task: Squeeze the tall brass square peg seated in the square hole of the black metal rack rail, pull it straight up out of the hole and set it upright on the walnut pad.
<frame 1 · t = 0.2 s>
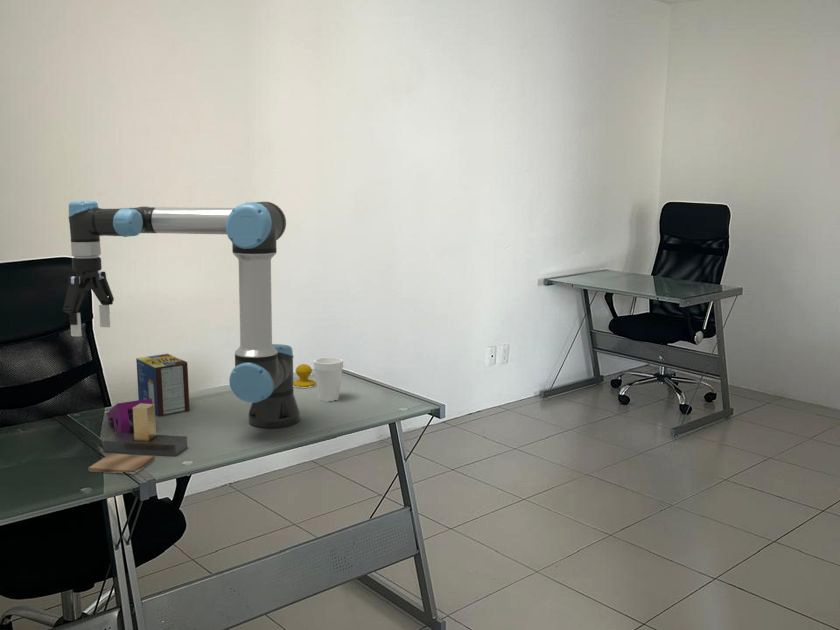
hand: (91, 331, 219), 28 cm above the table, tool pointing down, fingers open, 13 cm apart
foam cup: (328, 399, 253), on the table
protein box: (163, 408, 241), on the table
square peg: (144, 427, 203), in the rack rail
walnut pad: (122, 465, 193), on the table
doorknob: (304, 386, 269), on the table
mounting bracket: (129, 428, 223), on the table
rack rail: (146, 449, 204), on the table
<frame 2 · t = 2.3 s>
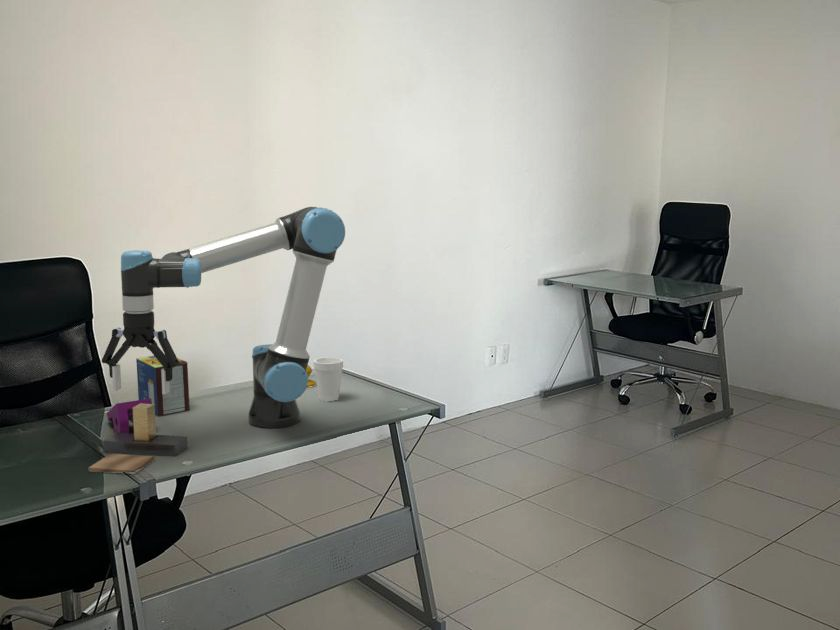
hand: (141, 391, 201), 16 cm above the table, tool pointing down, fingers open, 13 cm apart
nothing on the table moved.
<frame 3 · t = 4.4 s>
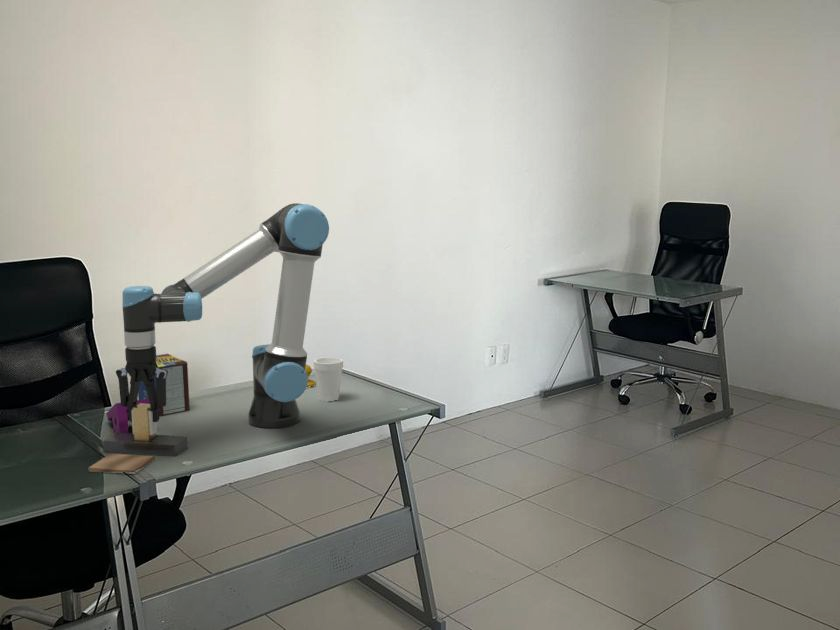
hand: (145, 432, 203), 5 cm above the table, tool pointing down, fingers closed on square peg, 4 cm apart
square peg: (144, 427, 203), in the rack rail, touching gripper
everything else where it was.
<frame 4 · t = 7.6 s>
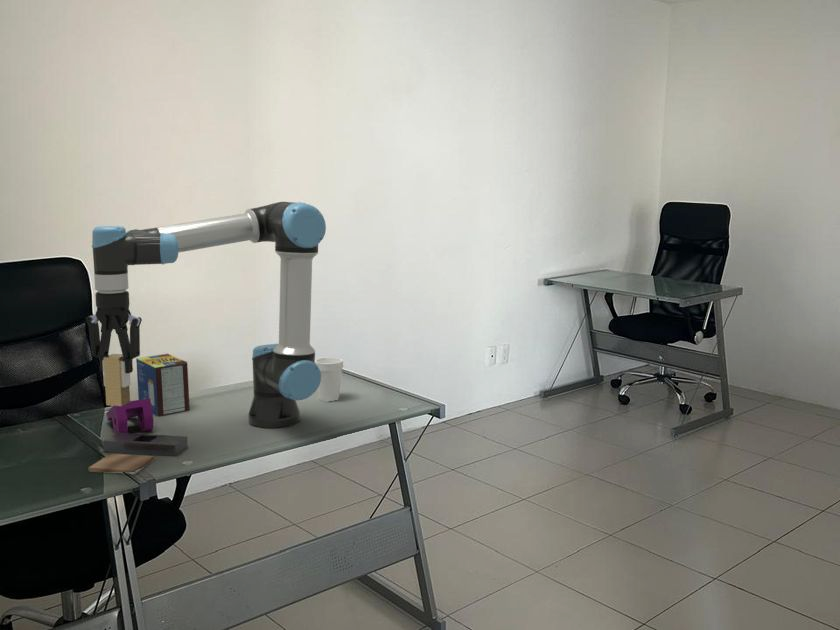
hand: (117, 385, 189), 21 cm above the table, tool pointing down, fingers closed on square peg, 4 cm apart
square peg: (117, 379, 189), point 22 cm above the table, touching gripper
everything else where it was.
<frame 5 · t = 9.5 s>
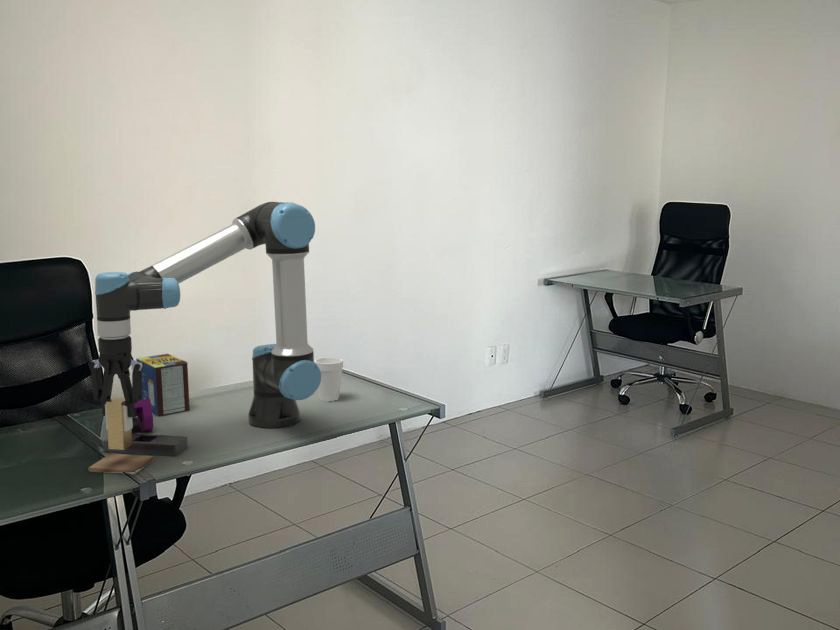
hand: (119, 428, 191), 10 cm above the table, tool pointing down, fingers closed on square peg, 4 cm apart
square peg: (119, 423, 191), point 11 cm above the table, touching gripper
everything else where it was.
when the fingers open (7 cm above the table, at t = 10.7 s): square peg drops 1 cm, resting on walnut pad.
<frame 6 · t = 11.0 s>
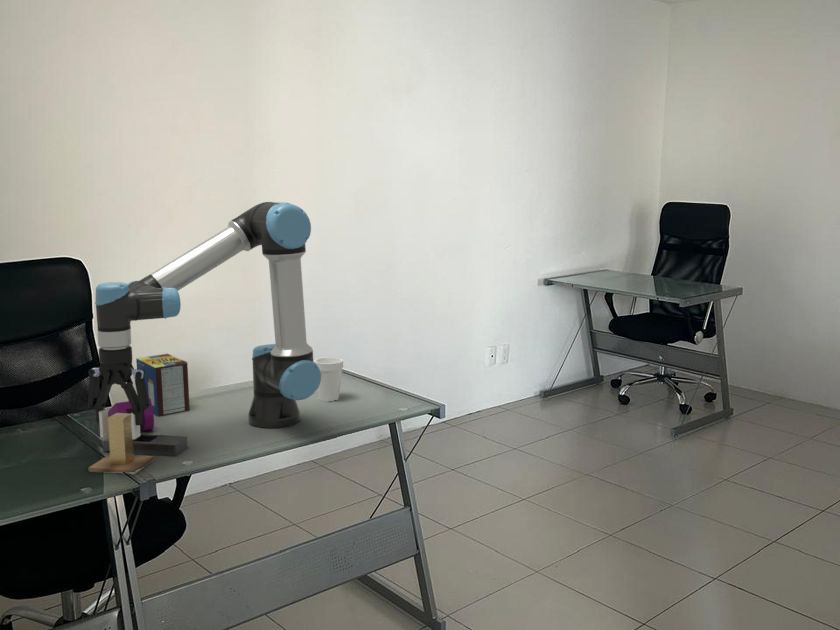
hand: (120, 436, 191), 8 cm above the table, tool pointing down, fingers open, 8 cm apart
square peg: (121, 438, 191), on the walnut pad, point 7 cm above the table
everything else where it was.
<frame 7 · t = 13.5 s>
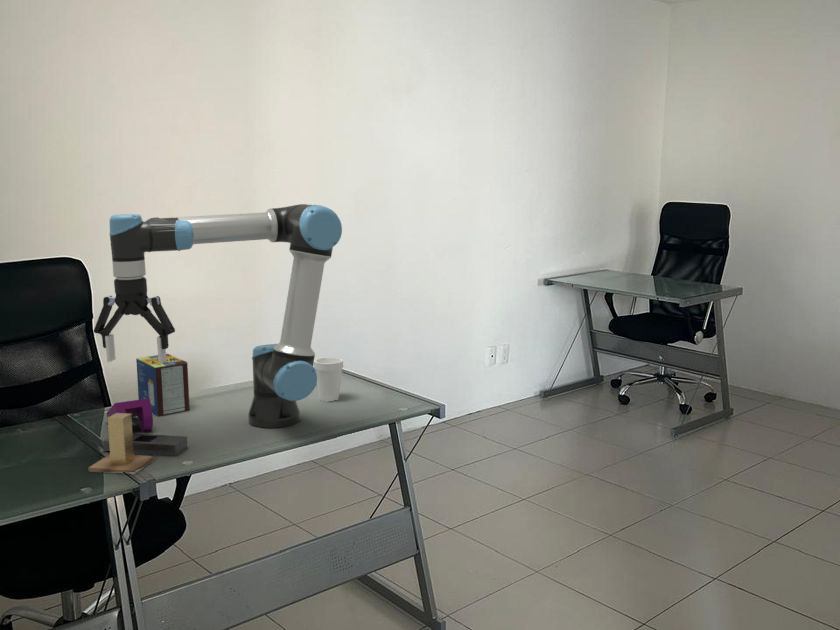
hand: (136, 361, 194), 25 cm above the table, tool pointing down, fingers open, 13 cm apart
nothing on the table moved.
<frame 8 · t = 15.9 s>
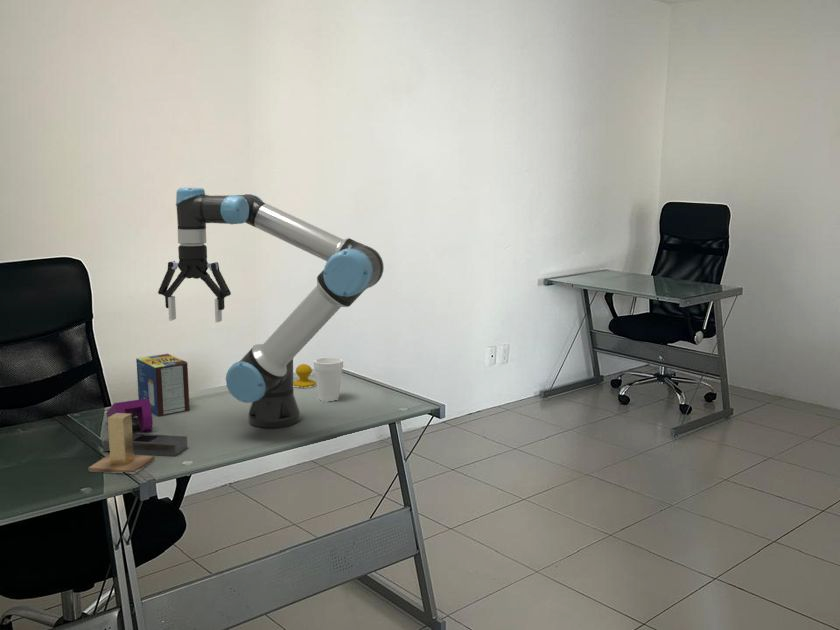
hand: (195, 320, 215), 32 cm above the table, tool pointing down, fingers open, 13 cm apart
nothing on the table moved.
at the end: square peg inside the target area on the walnut pad (0.1 cm from its centre), point 7.0 cm above the walnut pad's base; square peg tilted 0°; the gripper is holding nothing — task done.
